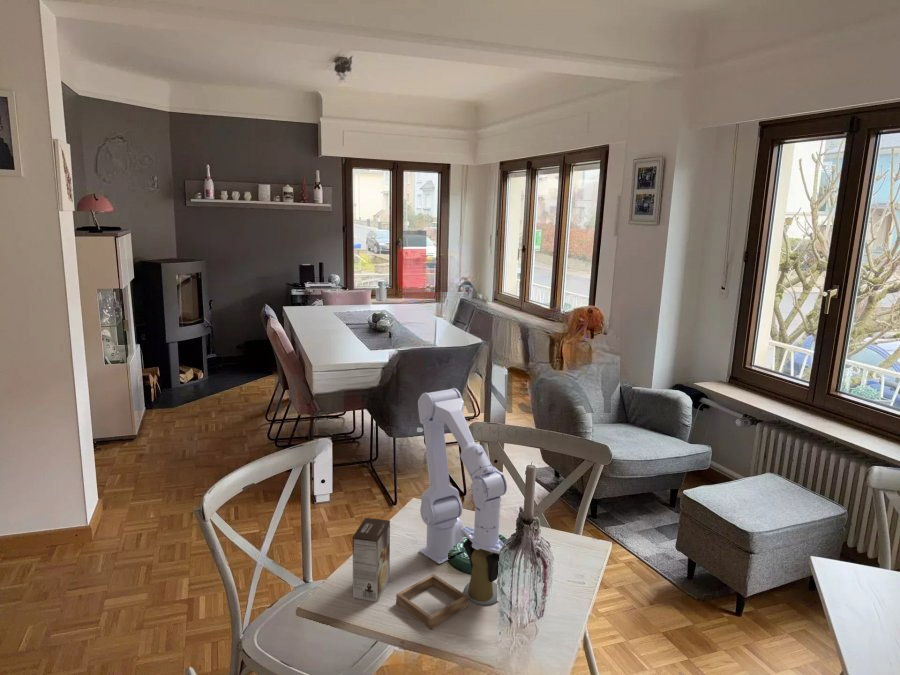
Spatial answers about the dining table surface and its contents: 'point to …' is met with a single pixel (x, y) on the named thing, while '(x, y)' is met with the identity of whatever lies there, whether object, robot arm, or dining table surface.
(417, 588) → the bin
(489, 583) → the olive waisted cylinder
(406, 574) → the dining table surface
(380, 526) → the coffee box
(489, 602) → the grey pebble
